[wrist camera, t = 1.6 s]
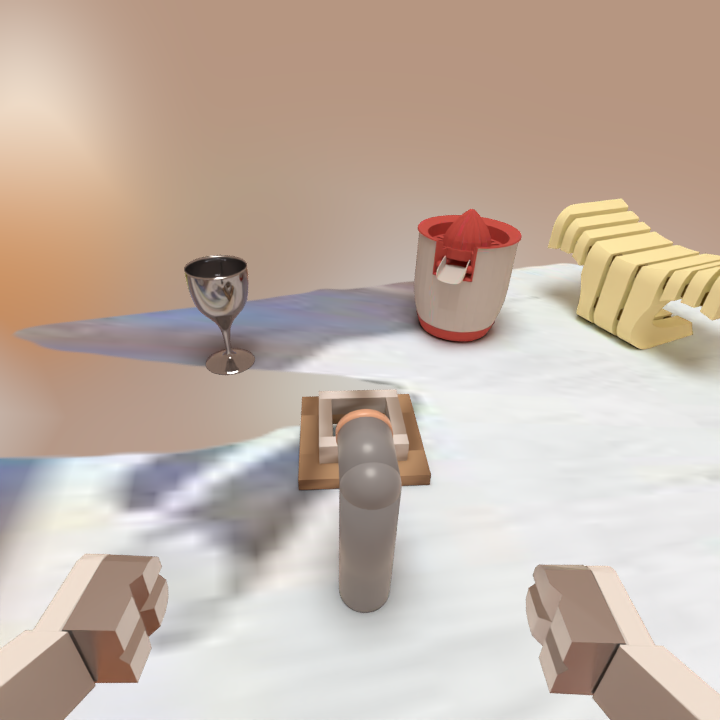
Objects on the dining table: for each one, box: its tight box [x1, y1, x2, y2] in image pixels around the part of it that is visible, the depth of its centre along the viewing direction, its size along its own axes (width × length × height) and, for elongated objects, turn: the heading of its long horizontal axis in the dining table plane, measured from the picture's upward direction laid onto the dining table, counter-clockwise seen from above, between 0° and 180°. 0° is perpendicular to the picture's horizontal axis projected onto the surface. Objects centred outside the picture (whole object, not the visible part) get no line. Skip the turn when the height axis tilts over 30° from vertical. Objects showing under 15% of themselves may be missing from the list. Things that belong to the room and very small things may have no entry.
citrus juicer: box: [414, 209, 521, 341], centre depth 73 cm, size 16×17×20 cm
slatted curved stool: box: [548, 199, 720, 349], centre depth 76 cm, size 30×16×18 cm, turn 25°
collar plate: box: [298, 390, 431, 490], centre depth 54 cm, size 14×14×4 cm
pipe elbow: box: [336, 409, 402, 613], centre depth 37 cm, size 8×5×15 cm, turn 4°
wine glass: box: [184, 255, 255, 375], centre depth 64 cm, size 8×8×15 cm
